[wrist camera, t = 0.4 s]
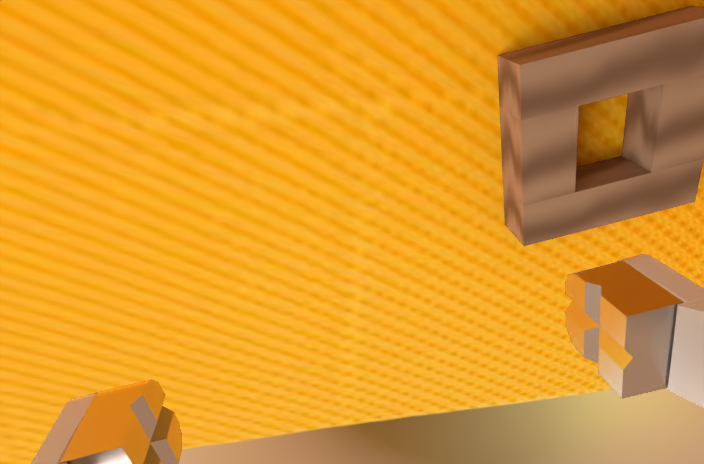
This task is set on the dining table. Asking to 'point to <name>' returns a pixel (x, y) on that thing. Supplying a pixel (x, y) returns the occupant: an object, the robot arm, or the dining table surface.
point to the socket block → (639, 135)
